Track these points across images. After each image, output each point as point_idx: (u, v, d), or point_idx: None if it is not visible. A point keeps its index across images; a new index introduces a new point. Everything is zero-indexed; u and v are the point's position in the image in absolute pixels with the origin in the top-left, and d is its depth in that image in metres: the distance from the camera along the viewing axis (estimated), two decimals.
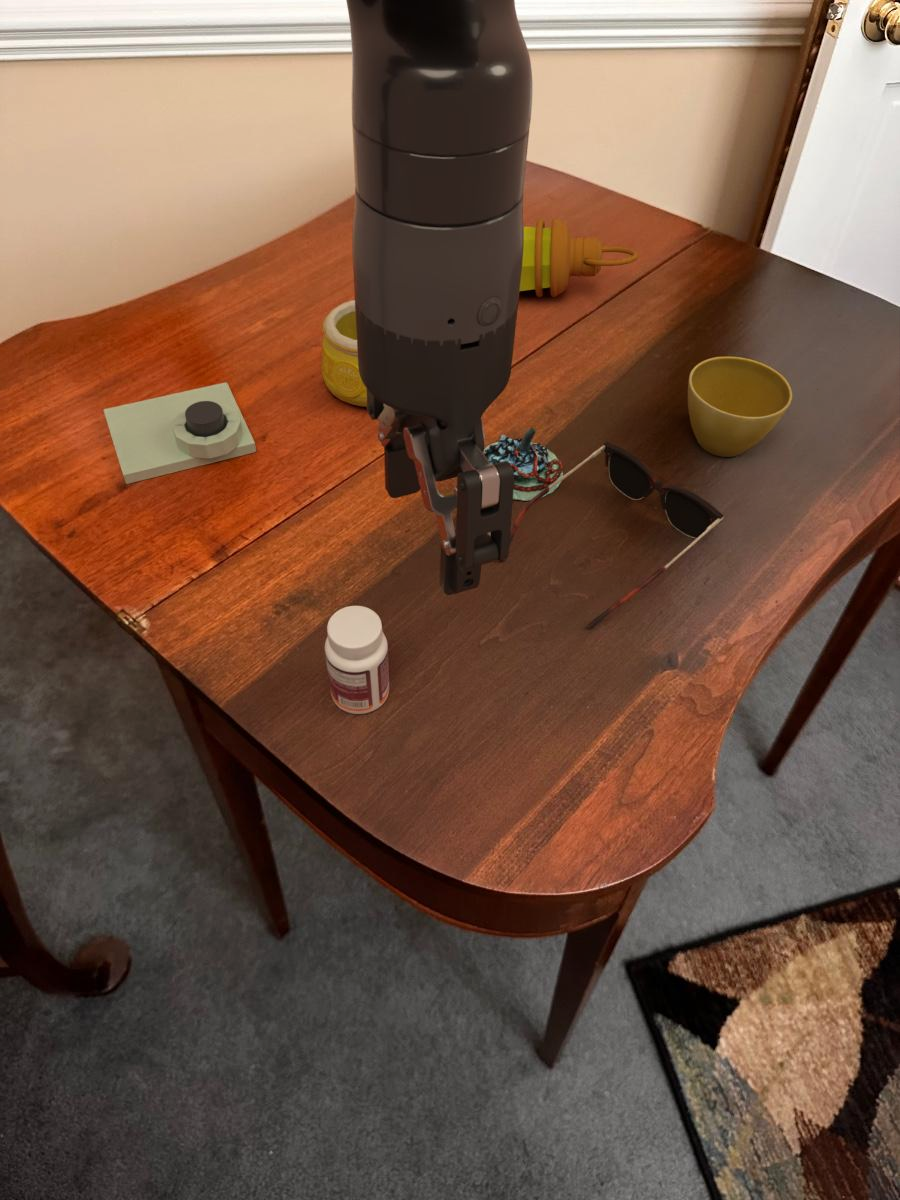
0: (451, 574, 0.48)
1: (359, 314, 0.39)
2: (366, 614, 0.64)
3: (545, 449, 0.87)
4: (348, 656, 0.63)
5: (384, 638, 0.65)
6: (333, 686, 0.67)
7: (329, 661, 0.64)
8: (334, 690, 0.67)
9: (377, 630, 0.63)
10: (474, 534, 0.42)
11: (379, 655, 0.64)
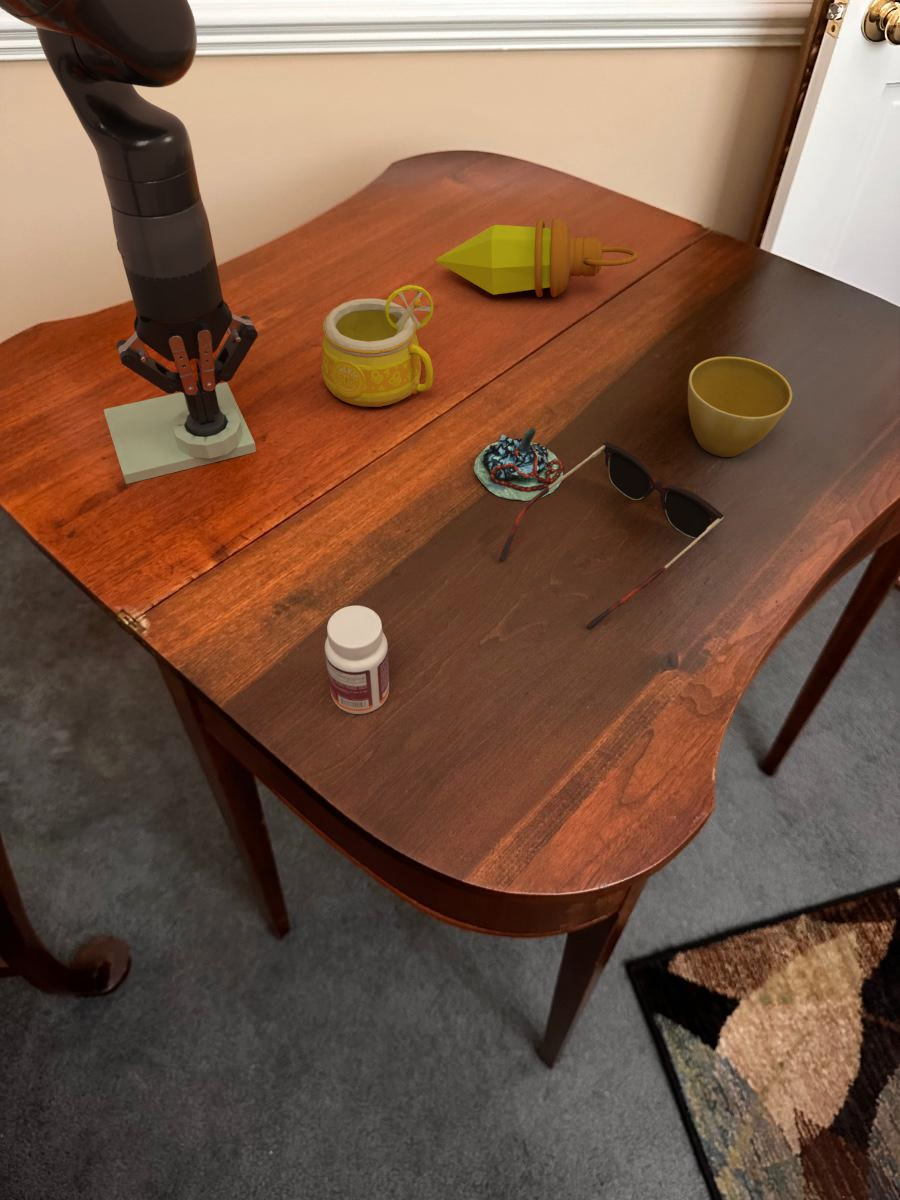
0: (211, 405, 0.84)
1: (178, 279, 0.71)
2: (366, 614, 0.64)
3: (545, 449, 0.87)
4: (348, 656, 0.63)
5: (384, 638, 0.65)
6: (333, 686, 0.67)
7: (329, 661, 0.64)
8: (334, 690, 0.67)
9: (377, 630, 0.63)
10: None
11: (379, 655, 0.64)
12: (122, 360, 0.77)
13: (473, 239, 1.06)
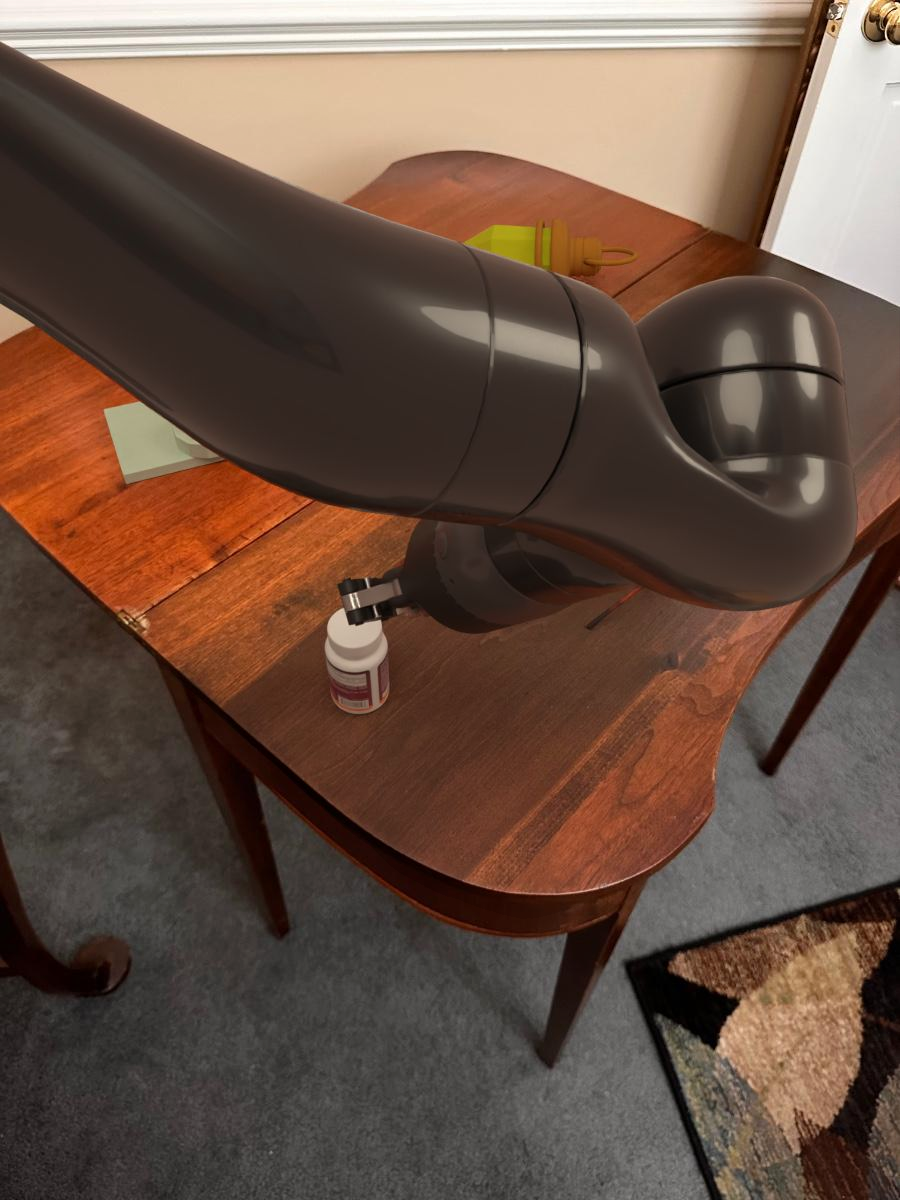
0: None
1: (520, 623, 0.44)
2: None
3: None
4: (348, 656, 0.63)
5: (384, 638, 0.65)
6: (333, 686, 0.67)
7: (329, 661, 0.64)
8: (334, 690, 0.67)
9: (377, 630, 0.63)
10: None
11: (379, 655, 0.64)
12: (351, 624, 0.48)
13: (473, 239, 1.06)
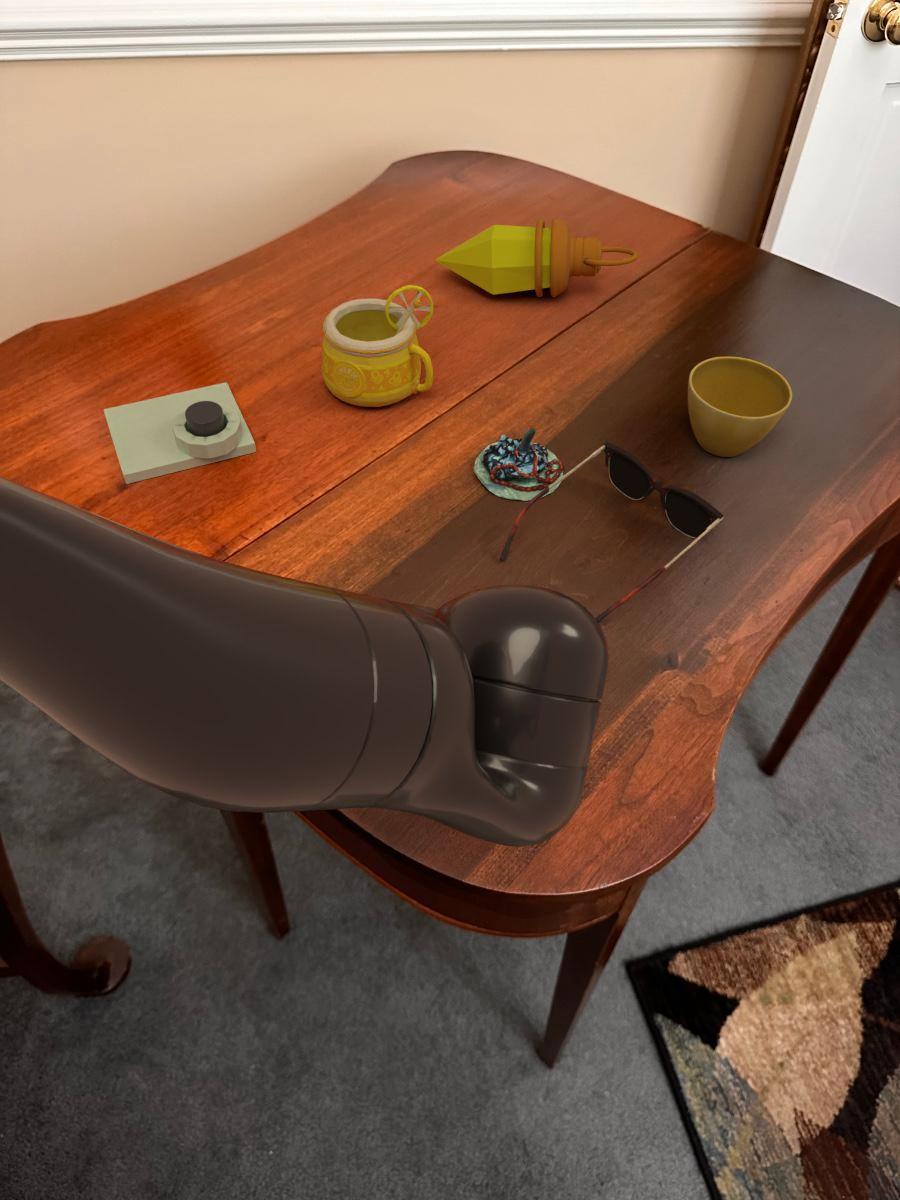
0: None
1: None
2: None
3: (545, 449, 0.87)
4: None
5: None
6: None
7: None
8: None
9: None
10: None
11: None
12: None
13: (473, 239, 1.06)
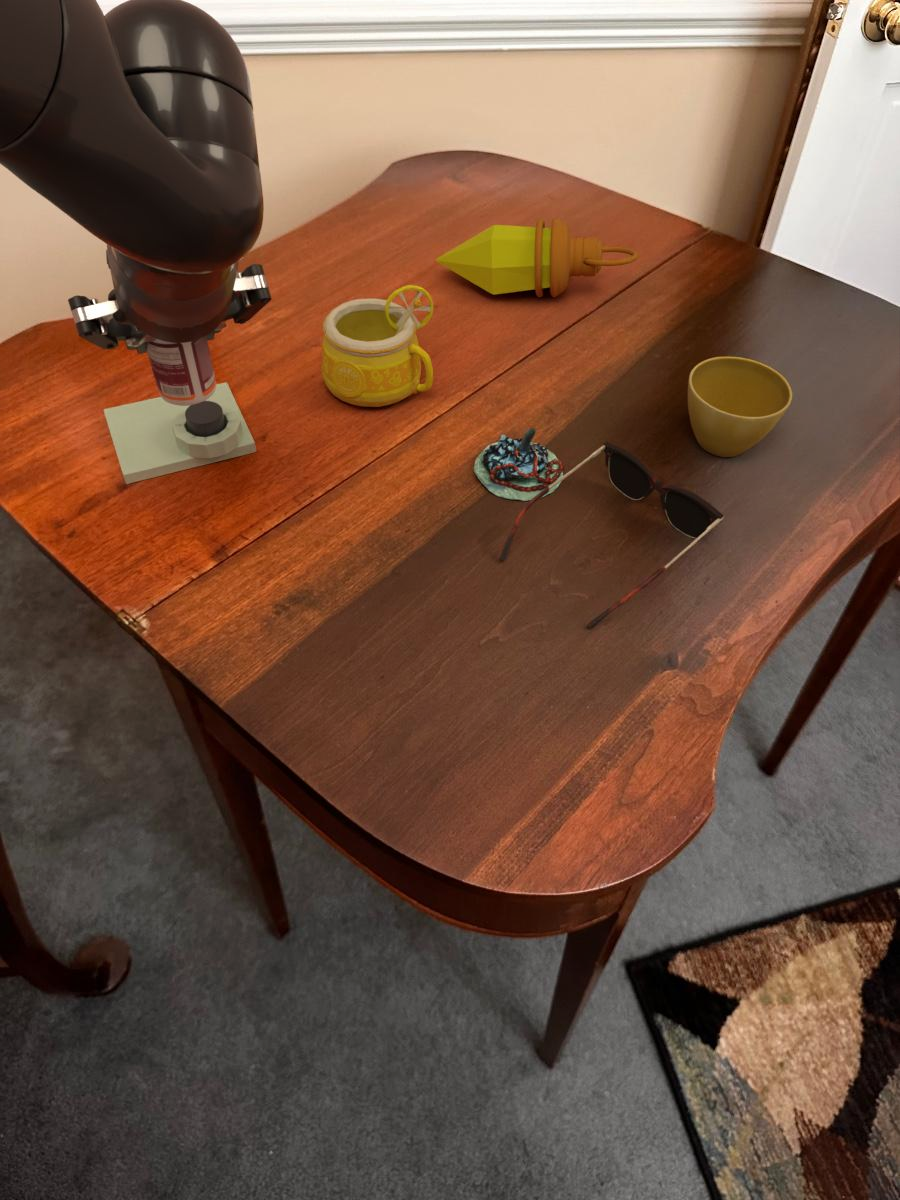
0: None
1: (190, 328, 0.55)
2: None
3: (545, 449, 0.87)
4: None
5: None
6: (154, 371, 0.69)
7: None
8: (156, 377, 0.69)
9: None
10: None
11: None
12: (81, 334, 0.59)
13: (473, 239, 1.06)
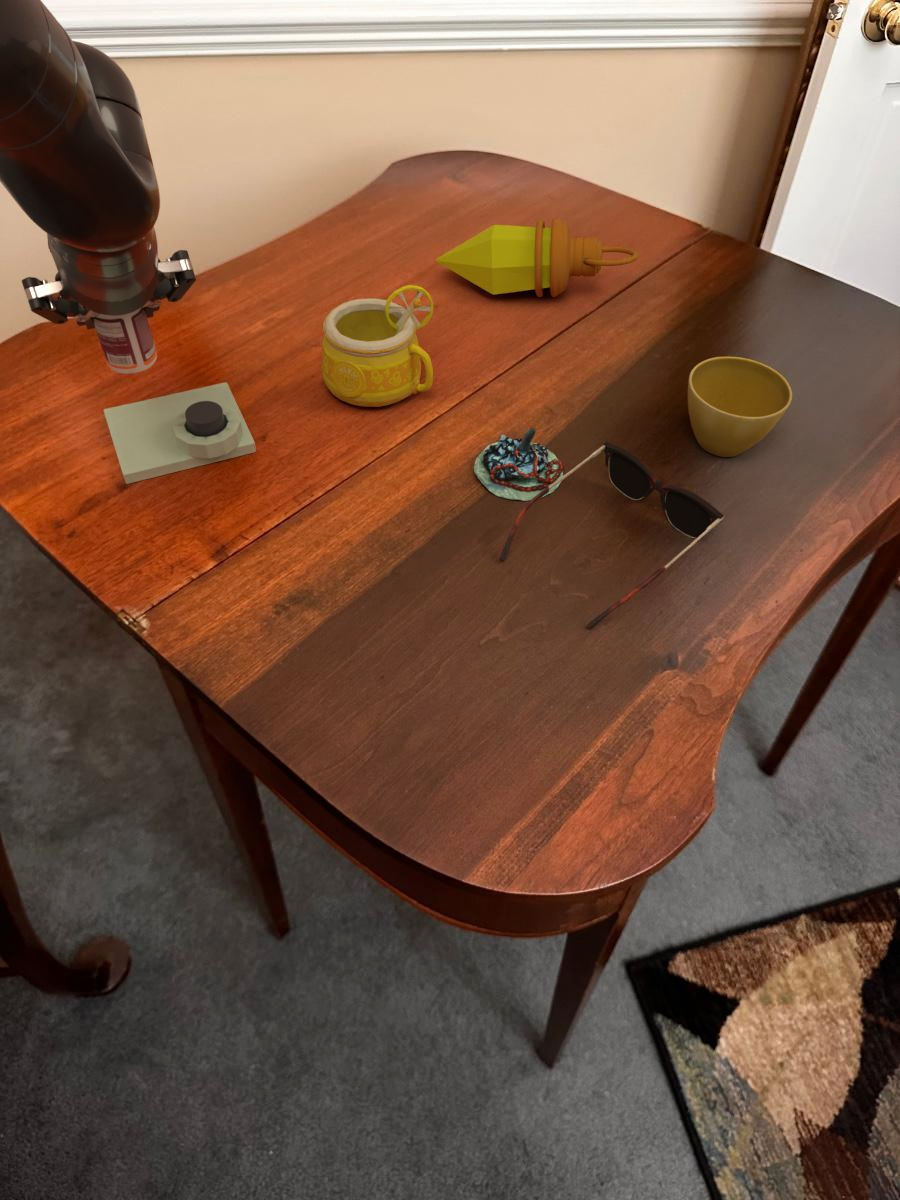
0: None
1: (120, 301, 0.66)
2: None
3: (545, 449, 0.87)
4: None
5: None
6: (101, 344, 0.80)
7: None
8: (103, 348, 0.81)
9: None
10: None
11: None
12: (33, 309, 0.70)
13: (473, 239, 1.06)
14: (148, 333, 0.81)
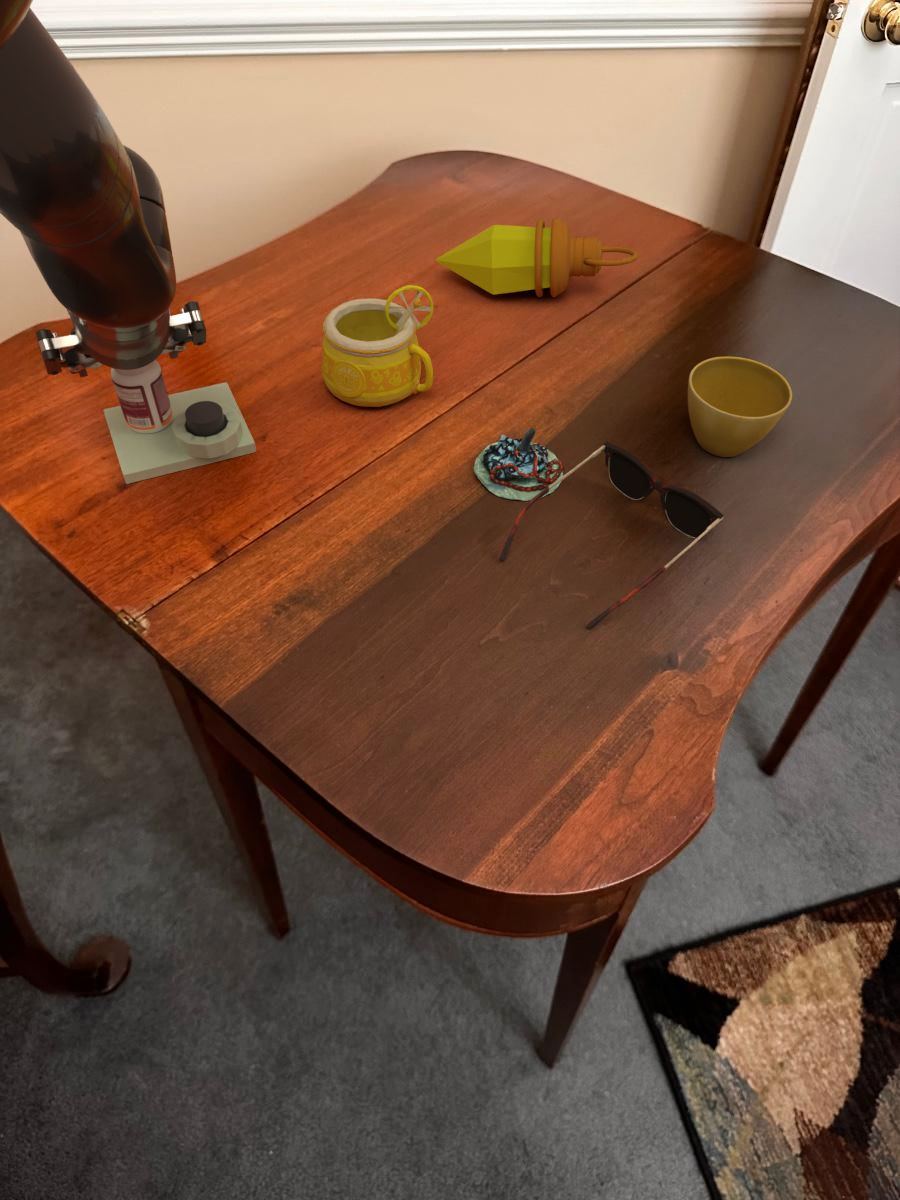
0: None
1: (134, 359, 0.70)
2: None
3: (545, 449, 0.87)
4: (123, 371, 0.82)
5: (157, 365, 0.84)
6: (121, 407, 0.86)
7: (113, 380, 0.84)
8: (123, 411, 0.86)
9: None
10: None
11: (150, 375, 0.83)
12: (48, 359, 0.73)
13: (473, 239, 1.06)
14: (165, 396, 0.86)
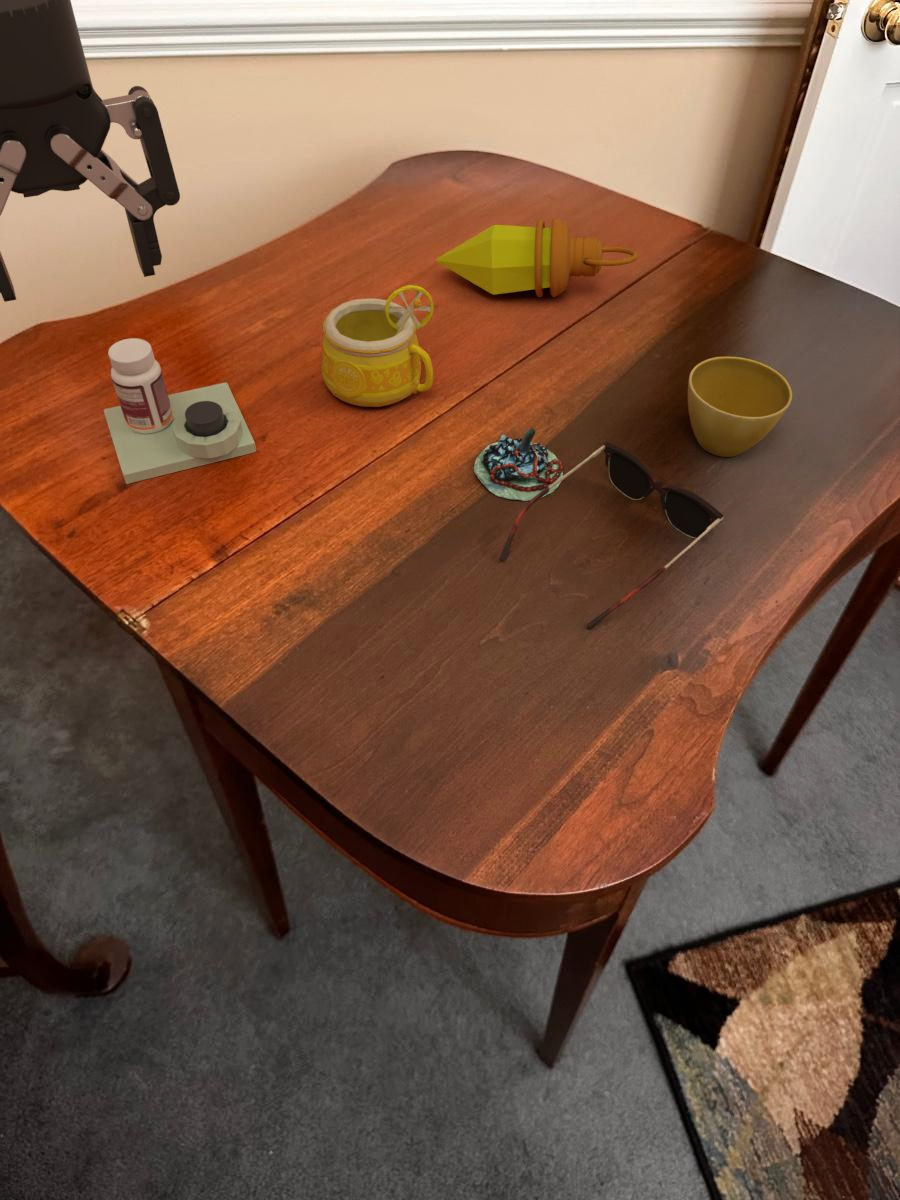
0: (149, 248, 0.55)
1: None
2: (140, 343, 0.83)
3: (545, 449, 0.87)
4: (123, 371, 0.82)
5: (157, 365, 0.84)
6: (121, 407, 0.86)
7: (113, 380, 0.84)
8: (123, 411, 0.86)
9: (146, 352, 0.82)
10: (168, 156, 0.52)
11: (150, 375, 0.83)
12: None
13: (473, 239, 1.06)
14: (165, 396, 0.86)
